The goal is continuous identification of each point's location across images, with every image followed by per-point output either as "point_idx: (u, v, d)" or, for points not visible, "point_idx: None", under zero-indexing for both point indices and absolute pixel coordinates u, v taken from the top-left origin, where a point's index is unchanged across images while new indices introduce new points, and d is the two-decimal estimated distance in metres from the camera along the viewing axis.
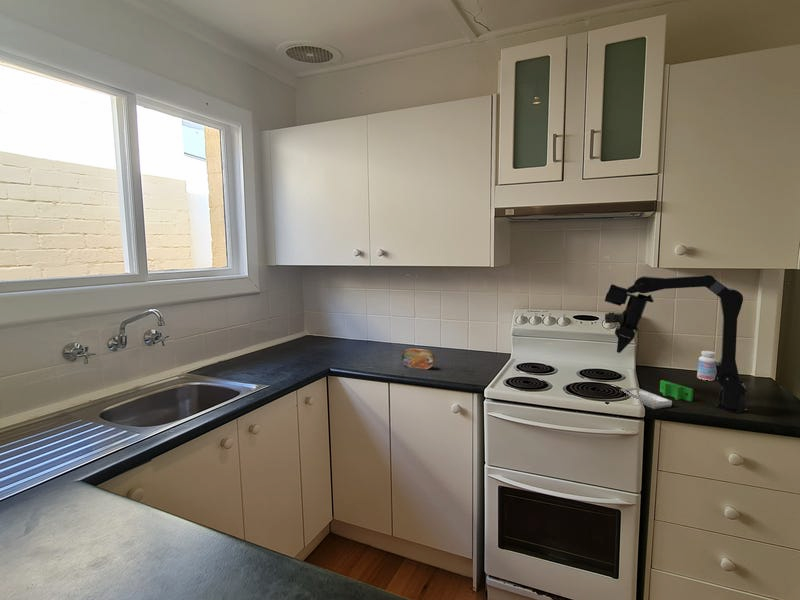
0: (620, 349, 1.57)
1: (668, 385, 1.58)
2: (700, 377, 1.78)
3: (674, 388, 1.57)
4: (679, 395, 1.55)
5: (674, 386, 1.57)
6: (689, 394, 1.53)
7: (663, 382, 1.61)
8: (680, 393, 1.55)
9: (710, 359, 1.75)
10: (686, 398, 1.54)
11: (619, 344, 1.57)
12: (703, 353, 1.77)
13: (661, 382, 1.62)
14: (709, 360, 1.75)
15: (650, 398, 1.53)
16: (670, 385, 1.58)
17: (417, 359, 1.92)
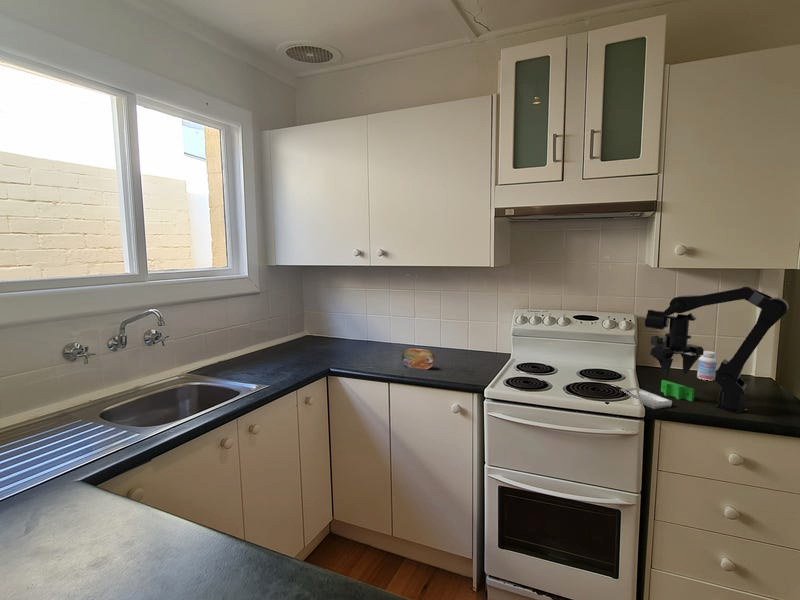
0: (665, 372, 1.54)
1: (669, 385, 1.58)
2: (700, 377, 1.78)
3: (675, 388, 1.57)
4: (680, 395, 1.55)
5: (675, 386, 1.57)
6: (690, 394, 1.53)
7: (664, 382, 1.62)
8: (681, 393, 1.55)
9: (710, 359, 1.75)
10: (687, 398, 1.54)
11: (662, 367, 1.55)
12: (703, 353, 1.77)
13: (662, 382, 1.62)
14: (709, 360, 1.75)
15: (650, 398, 1.53)
16: (671, 385, 1.58)
17: (417, 360, 1.92)
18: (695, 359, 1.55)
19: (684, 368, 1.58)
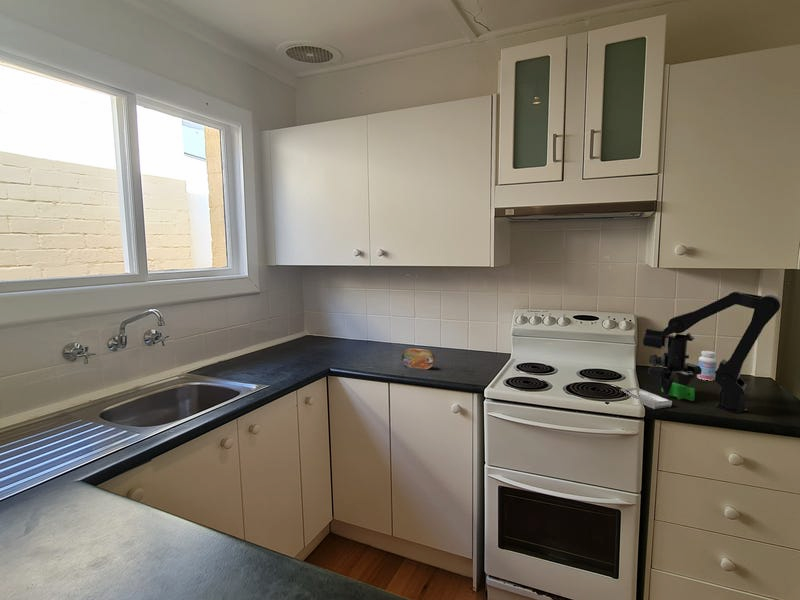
0: (665, 391, 1.56)
1: None
2: (700, 377, 1.78)
3: (676, 388, 1.57)
4: (681, 394, 1.55)
5: (676, 386, 1.57)
6: (691, 394, 1.53)
7: None
8: (682, 393, 1.55)
9: (710, 359, 1.75)
10: (688, 398, 1.54)
11: (663, 386, 1.56)
12: (703, 353, 1.77)
13: None
14: (709, 360, 1.75)
15: (650, 398, 1.53)
16: (672, 385, 1.58)
17: (417, 360, 1.92)
18: (690, 379, 1.56)
19: None
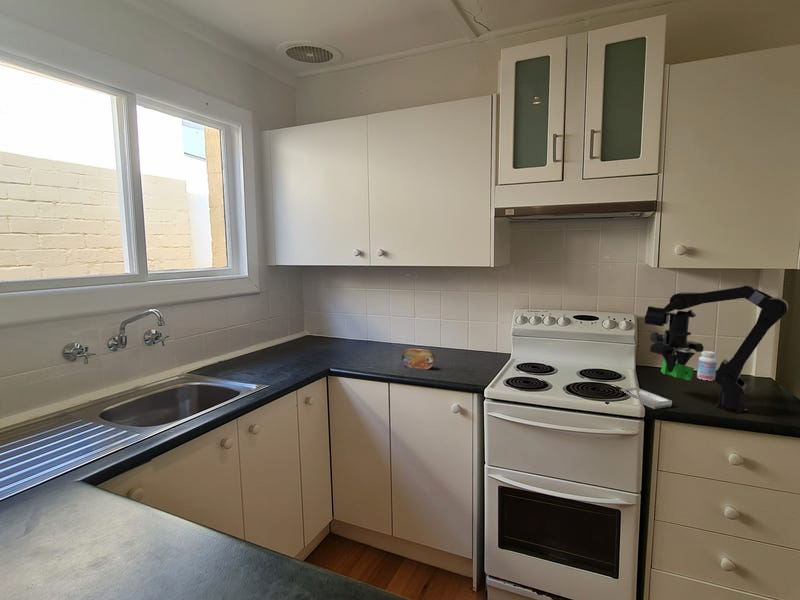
0: (670, 368, 1.55)
1: None
2: (700, 377, 1.78)
3: (675, 366, 1.56)
4: (678, 372, 1.54)
5: (675, 364, 1.56)
6: (689, 372, 1.52)
7: (665, 361, 1.61)
8: (680, 371, 1.54)
9: (710, 359, 1.75)
10: (685, 377, 1.53)
11: (667, 363, 1.56)
12: (703, 353, 1.77)
13: (663, 361, 1.61)
14: (709, 360, 1.75)
15: (650, 398, 1.53)
16: None
17: (417, 360, 1.92)
18: (689, 356, 1.54)
19: None
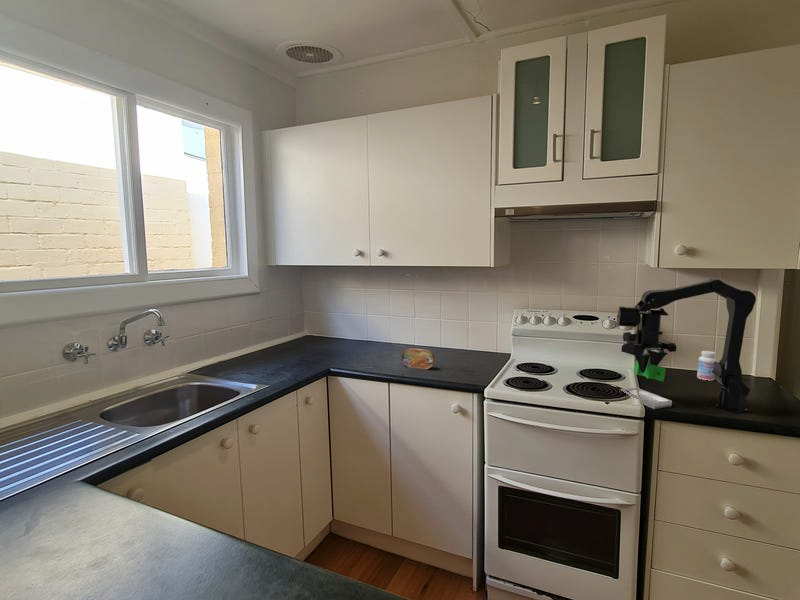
0: (642, 368, 1.51)
1: None
2: (700, 377, 1.78)
3: (647, 367, 1.52)
4: (650, 373, 1.50)
5: (647, 365, 1.52)
6: (661, 373, 1.48)
7: None
8: (652, 372, 1.50)
9: (710, 359, 1.75)
10: (658, 377, 1.49)
11: (639, 363, 1.51)
12: (703, 353, 1.77)
13: (636, 362, 1.57)
14: (709, 360, 1.75)
15: (650, 398, 1.53)
16: None
17: (417, 360, 1.92)
18: (662, 356, 1.50)
19: None
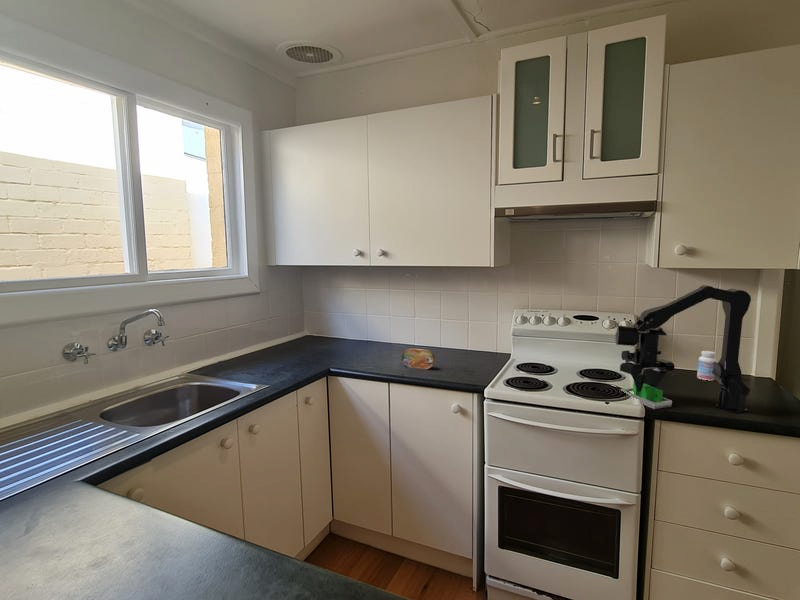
0: (638, 387, 1.51)
1: None
2: (700, 377, 1.78)
3: (645, 389, 1.53)
4: (648, 396, 1.50)
5: (645, 387, 1.53)
6: (658, 395, 1.49)
7: None
8: (650, 394, 1.51)
9: (710, 359, 1.75)
10: (656, 399, 1.50)
11: (635, 382, 1.52)
12: (703, 353, 1.77)
13: (634, 383, 1.58)
14: (709, 360, 1.75)
15: None
16: None
17: (417, 360, 1.92)
18: (662, 375, 1.51)
19: (652, 384, 1.54)
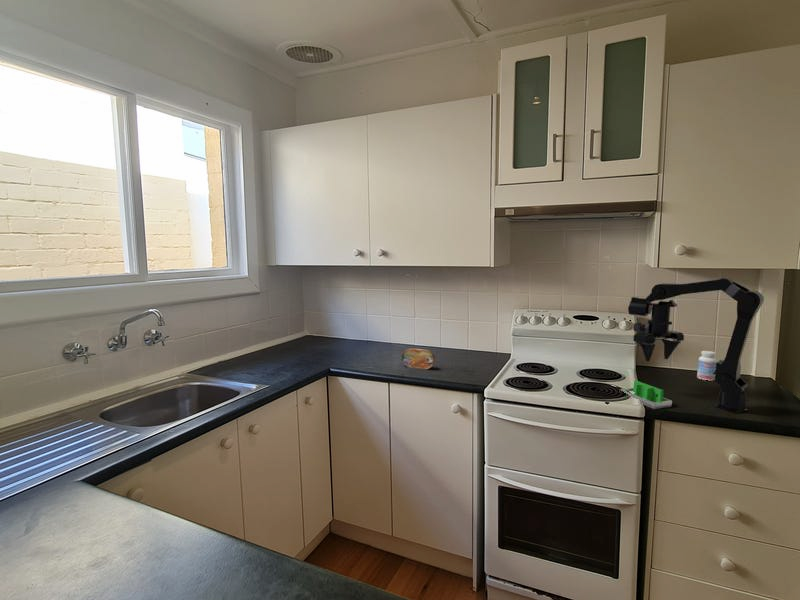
0: (647, 357, 1.59)
1: (639, 386, 1.54)
2: (700, 377, 1.78)
3: (645, 389, 1.53)
4: (649, 396, 1.51)
5: (645, 387, 1.53)
6: (659, 395, 1.49)
7: (636, 382, 1.57)
8: (650, 394, 1.51)
9: (710, 359, 1.75)
10: (656, 399, 1.50)
11: (644, 352, 1.59)
12: (703, 353, 1.77)
13: (634, 382, 1.58)
14: (709, 360, 1.75)
15: None
16: (642, 386, 1.54)
17: (417, 360, 1.92)
18: (676, 344, 1.60)
19: (666, 354, 1.63)
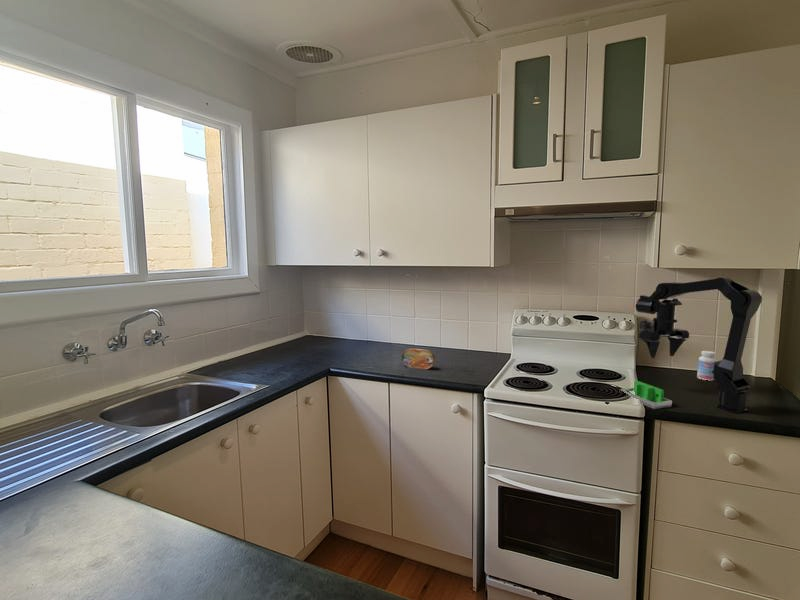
0: (652, 354, 1.64)
1: (640, 385, 1.54)
2: (700, 377, 1.78)
3: (646, 389, 1.53)
4: (649, 396, 1.51)
5: (646, 387, 1.53)
6: (659, 395, 1.49)
7: (637, 382, 1.57)
8: (651, 394, 1.51)
9: (710, 359, 1.75)
10: (657, 399, 1.50)
11: (649, 349, 1.64)
12: (703, 353, 1.77)
13: (635, 382, 1.58)
14: (709, 360, 1.75)
15: None
16: (642, 386, 1.54)
17: (417, 360, 1.92)
18: (681, 342, 1.64)
19: (671, 351, 1.67)
